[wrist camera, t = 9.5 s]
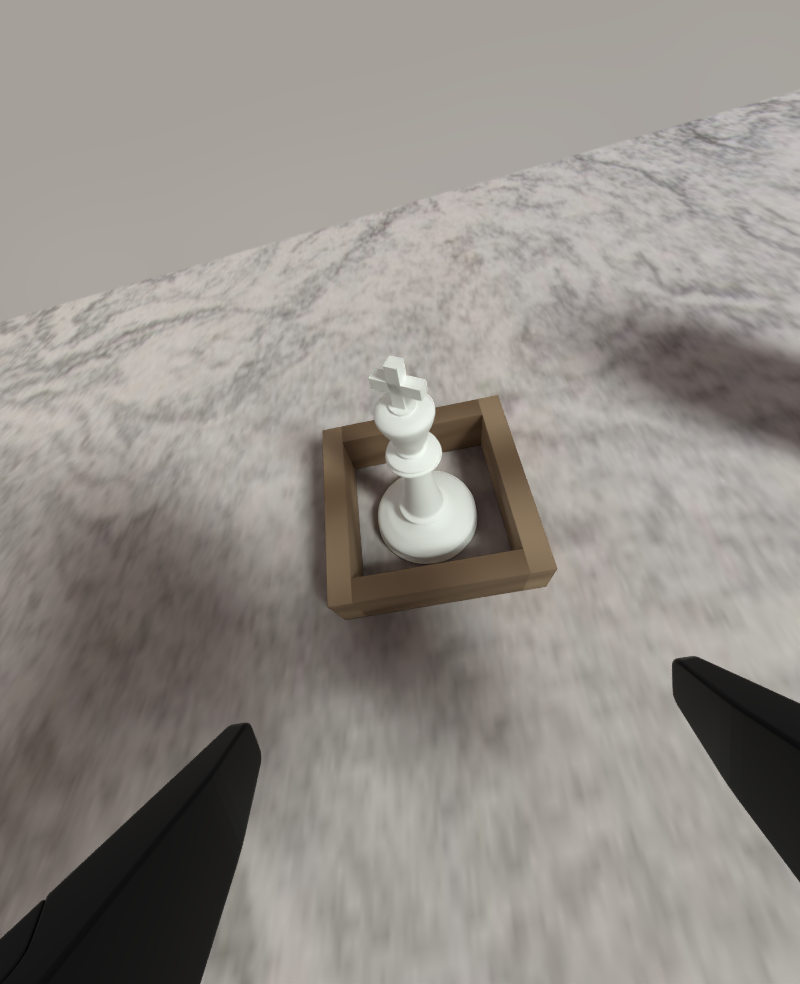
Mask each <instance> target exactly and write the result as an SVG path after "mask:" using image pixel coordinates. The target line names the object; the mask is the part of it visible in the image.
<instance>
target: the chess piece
mask: <svg viewBox="0 0 800 984" xmlns="http://www.w3.org/2000/svg"><path fill="white" fill-rule="evenodd" d="M383 369H384V370H381V369H377V368H375V369H374V370H373V372H372V373H371V375H370V376H369V378H368V379H369V382H370V386H371V389H375V390H379V391H383V392H387V394H385V395H384V396H383V397H382V398H381V399H380V400H379V401H378V403H377V404H376V407H375V409H374V421H375V424H376V426H377V427H378V429H379V430H380V431H381V433H382V434H383V435H384V436H385V437H387V438H388V439H389V440H390V442H389V444H388V446H387V449H386V455H385V458H386V463H387V465H388V467H389V468H390V470H391V471H392V472H394V473H395V474H397V475H399V476H401V478H399V479H398V480H396V481H395V482H394V483H393V484H392V485H391V486H390V487H389V488H388V489H387V490H386V492H385V493H384V495H383V497H382V499H381V501H380V504H379V509H378V523H379V530H380V533H381V536H382V538H383V540H384V542H385V544H386V545H387V546H388V547H389V549H390V550H391V551H392V552H394V553H395V554H396V555H397V556H399V557H401V558H403V559H405V560H407V561H410V562H413V563H418V564H434V563H439V562H443V561H446V560H448V559H450V558H452V557H454V556H456V555H457V554H458V553H460V552H461V551H462V550H463V549H464V548H465V547H466V546H467V545H468V544H469V542H470V541H471V539H472V537H473V535H474V533H475V530H476V526H477V518H478V517H477V508H476V505H475V501H474V498H473V496H472V494H471V492H470V490H469V489H468V488H467V486H466V485H465V484H464V483H463V482H462V481H461V480H459V479H458V478H457V477H455V476H453V475H451V474H449V473H446V472H443V471H439V470H434V469H435V468H436V467H437V465H438V464H439V462H440V460H441V456H442V449H441V445H440V443H439V441H438V440H437V439H436V437H435V436H434V435H433V434H432V433H430V432H429V430H430V428H431V426H432V424H433V421H434V417H435V404H434V402H433V400H432V398H431V397H430V396H429V395H428V394H427V391H428V390H427V382H426V380H425V379H420V378H416V377H412V376H407V375H406V370H405V365H404V359H403V358H399V357H394V356H389V357H388V359H387V360H386V362H385V363H384V365H383Z"/></svg>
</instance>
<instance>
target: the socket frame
mask: <svg viewBox="0 0 800 984" xmlns="http://www.w3.org/2000/svg"><path fill="white" fill-rule="evenodd" d="M429 432H430V433H432V434H433V435H434V436H435V437H436V439H437V440H438V441H439V443H440V445H441V449H442V452H446V451H451V450H456V449H462V448H467V447H472V446H477V445H481V446H482V450H483V453H484V457H485V460H486V464H487V467H488V471H489V474H490V478H491V481H492V484H493V488H494V491H495V495H496V498H497V502H498V505H499V509H500V512H501V516H502V519H503V523H504V526H505V530H506V533H507V537H508V540H509V544H510V547H511V551H507V552H501V553H496V554H490V555H484V556H478V557H472V558H466V559H461V560H455V561H449V562H443V563H437V564H432V565H426V566H420V567H414V568H408V569H403V570H397V571H391V572H385V573H379V574H373V575H368V576H363V563H362V550H361V537H360V524H359V512H358V499H357V486H356V473H355V469H358V468H363V467H368V466H374V465H379V464H384V463H386V458H385V455H386V449H387V446H388V444H389V442H390V440H389V439H388V438H387V437H385V436H384V435H383V434H382V433H381V431H380V430H379V429H378V427H377V426H376V424H375V421H374V420H372V421H367V422H362V423H357V424H352V425H348V426H343V427H338V428H333V429H328V430H323V464H324V499H325V534H326V569H327V604H328V608H330V609H331V610H332V611H334V612H335V613H337V614H338V615H339V616H341V617H342V618H343V619H345V620H346V619H352V618H358V617H364V616H370V615H376V614H383V613H389V612H395V611H401V610H407V609H413V608H419V607H425V606H431V605H437V604H443V603H449V602H456V601H462V600H468V599H474V598H480V597H486V596H492V595H498V594H504V593H510V592H516V591H523V590H529V589H535V588H541V587H546V586H547V584H548V583H549V581H550V580H551V578H552V576H553V575H554V573H555V572H556V570H557V566H556V563H555V560H554V558H553V555H552V552H551V549H550V546H549V543H548V540H547V537H546V534H545V531H544V528H543V525H542V522H541V520H540V517H539V514H538V511H537V508H536V505H535V502H534V499H533V496H532V493H531V490H530V487H529V484H528V482H527V479H526V476H525V473H524V470H523V467H522V464H521V461H520V458H519V455H518V452H517V449H516V447H515V444H514V441H513V438H512V435H511V432H510V429H509V426H508V423H507V420H506V417H505V414H504V411H503V409H502V406H501V403H500V400H499V397H498V395H496V396H491V397H486V398H481V399H476V400H471V401H466V402H461V403H456V404H452V405H447V406H442V407H437V408H435V417H434V421H433V424H432V426H431V428H430V430H429Z"/></svg>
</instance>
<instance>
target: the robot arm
mask: <svg viewBox="0 0 800 984" xmlns="http://www.w3.org/2000/svg"><path fill="white" fill-rule="evenodd" d="M672 687H673V696H674V699H675V701H676V703H677V705H678V707H679V708H680V710H681V712H682V713H683V715H684V716H685V718H686V720H687V721H688V723H689V724H690V726H691V728H692V729H693V731H694V732H695V734H696V736H697V737H698V739H699V740H700V742H701V744H702V745H703V747H704V748H705V750H706V752H707V753H708V755H709V756H710V758H711V760H712V761H713V763H714V764H715V766H716V768H717V769H718V771H719V772H720V774H721V775H722V777H723V779H724V780H725V782H726V783H727V785H728V786H729V788H730V789H731V790H732V792H733V793H734V795H735V796H736V797H737V799H738V800H739V802H740V803H741V804H742V806H743V807H744V808H745V810H746V811H747V812H748V814H749V815H750V816H751V818H752V819H753V820H754V822H755V823H756V824H757V826H758V827H759V828H760V830H761V831H762V832H763V834H764V835H765V836H766V838H767V839H768V840H769V842H770V843H771V844H772V846H773V847H774V848H775V850H776V851H777V852H778V854H779V855H780V856H781V858H782V859H783V860H784V862H785V863H786V864H787V866H788V867H789V868H790V870H791V871H792V872H793V874H794V875H795V876H796V878H797V879H798V880H799V882H800V703H798V702H796V701H793V700H791V699H789V698H787V697H785V696H782V695H780V694H778V693H776V692H774V691H771V690H769V689H767V688H765V687H763V686H761V685H758V684H756V683H754V682H752V681H750V680H747V679H745V678H743V677H741V676H739V675H736V674H734V673H732V672H730V671H728V670H725V669H723V668H721V667H719V666H717V665H714V664H712V663H710V662H708V661H706V660H703V659H701V658H699V657H696V656H689V657H683V658H677V659H675V660H673V662H672ZM260 765H261V751H260V748H259V745H258V742H257V740H256V737H255V734H254V732H253V729H252V727H251V725H250V724H249V723H240V724H233V725H230V726H229V727H227V728H226V729H225V730H224V731H223V732H222V733H221V734H220V735H219V736H218V737H217V738H215V739H214V740H213V741H212V742H211V743H210V744H209V745H208V746H207V747H206V748H205V749H204V750H203V751H202V752H200V753H199V754H198V755H197V756H196V757H195V758H194V759H193V760H192V761H191V762H190V763H189V764H188V765H187V766H185V767H184V768H183V769H182V770H181V771H180V772H179V773H178V774H177V775H176V776H175V777H174V778H173V779H172V780H170V781H169V782H168V783H167V784H166V785H165V786H164V787H163V788H162V789H161V790H160V791H159V792H158V793H157V794H155V795H154V796H153V797H152V798H151V799H150V800H149V801H148V802H147V803H146V804H145V805H144V806H143V807H142V808H140V809H139V810H138V811H137V812H136V813H135V814H134V815H133V816H132V817H131V818H130V819H129V820H128V821H127V822H125V823H124V824H123V825H122V826H121V827H120V828H119V829H118V830H117V831H116V832H115V833H114V834H113V835H112V836H110V837H109V838H108V839H107V840H106V841H105V842H104V843H103V844H102V845H101V846H100V847H99V848H98V849H97V850H95V851H94V852H93V853H92V854H91V855H90V856H89V857H88V858H87V859H86V860H85V861H84V862H83V863H82V864H80V865H79V866H78V867H77V868H76V869H75V870H74V871H73V872H72V873H71V874H70V875H69V876H68V877H67V878H65V879H64V880H63V881H62V882H61V883H60V884H59V885H58V886H57V887H56V888H55V889H54V890H53V891H52V892H50V893H49V894H48V896H47V898H46V900H42V901H41V902H40V903H39V904H37V905H36V906H35V907H34V908H33V909H32V910H31V911H30V912H29V913H28V914H27V915H26V916H25V917H24V918H23V919H21V920H20V921H19V922H18V923H17V924H16V925H15V926H14V927H13V928H12V929H11V930H10V931H8V932H7V933H6V934H5V935H4V936H3V937H2V938H1V939H0V984H200V983H201V980H202V977H203V973H204V970H205V967H206V964H207V960H208V957H209V954H210V951H211V947H212V944H213V941H214V938H215V934H216V931H217V928H218V925H219V922H220V918H221V915H222V912H223V909H224V905H225V902H226V899H227V896H228V892H229V889H230V886H231V883H232V879H233V876H234V873H235V870H236V866H237V863H238V860H239V856H240V853H241V849H242V845H243V841H244V837H245V833H246V829H247V824H248V819H249V815H250V810H251V806H252V801H253V797H254V792H255V788H256V783H257V778H258V774H259V769H260Z"/></svg>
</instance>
